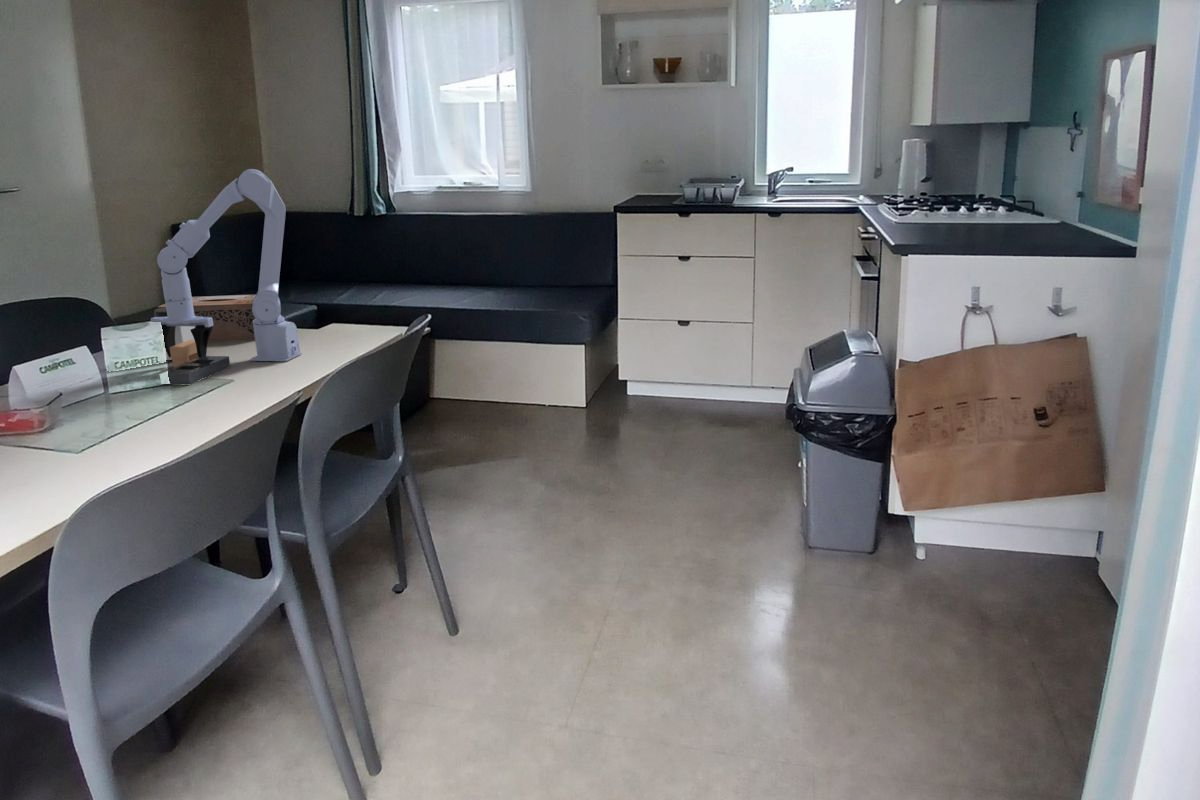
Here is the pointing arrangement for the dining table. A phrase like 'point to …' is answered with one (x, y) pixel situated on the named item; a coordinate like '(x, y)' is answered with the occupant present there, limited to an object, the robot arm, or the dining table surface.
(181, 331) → the jar
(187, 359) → the tan block
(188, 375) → the grey slotted tray
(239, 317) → the tissue box cover
